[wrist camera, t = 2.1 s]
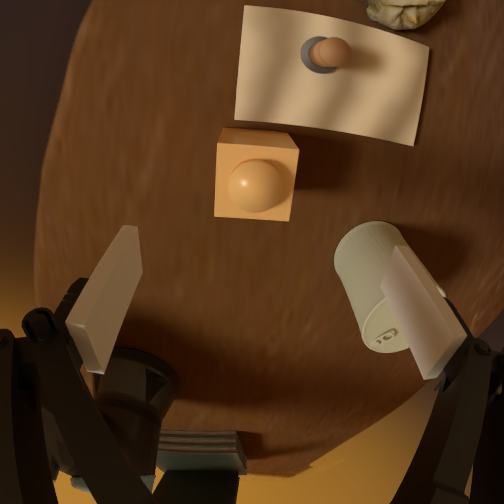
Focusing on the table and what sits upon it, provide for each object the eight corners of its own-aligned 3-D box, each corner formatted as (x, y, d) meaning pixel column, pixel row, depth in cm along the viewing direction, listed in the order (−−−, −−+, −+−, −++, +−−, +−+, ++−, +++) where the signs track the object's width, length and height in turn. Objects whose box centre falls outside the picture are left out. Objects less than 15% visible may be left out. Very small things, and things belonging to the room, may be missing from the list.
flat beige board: (234, 117, 27) (232, 128, 22) (244, 8, 21) (244, -9, 16) (407, 143, 28) (438, 161, 23) (423, 47, 22) (458, 47, 17)
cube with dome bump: (220, 185, 31) (213, 222, 24) (223, 127, 27) (216, 146, 21) (279, 189, 31) (290, 227, 24) (287, 132, 28) (301, 153, 21)
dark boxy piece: (166, 454, 71) (158, 530, 50) (140, 426, 61) (126, 520, 40) (246, 455, 71) (248, 536, 50) (237, 428, 60) (238, 532, 39)
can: (318, 255, 35) (344, 332, 25) (379, 205, 32) (431, 268, 22) (359, 295, 39) (388, 367, 29) (414, 253, 36) (459, 317, 26)
